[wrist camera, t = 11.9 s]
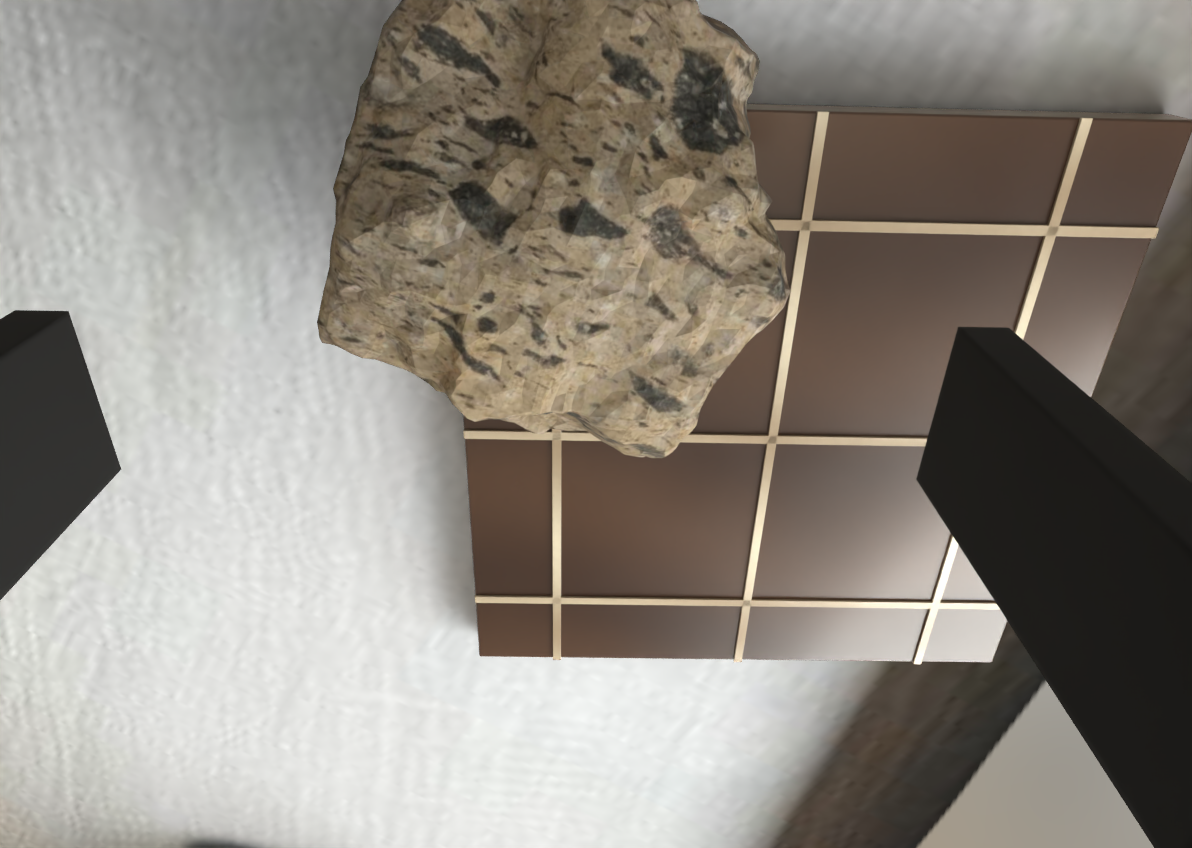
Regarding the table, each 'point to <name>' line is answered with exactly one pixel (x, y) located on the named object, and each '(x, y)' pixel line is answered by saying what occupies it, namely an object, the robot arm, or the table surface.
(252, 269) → the table surface
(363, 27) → the table surface
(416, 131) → the rock
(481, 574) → the grid board
